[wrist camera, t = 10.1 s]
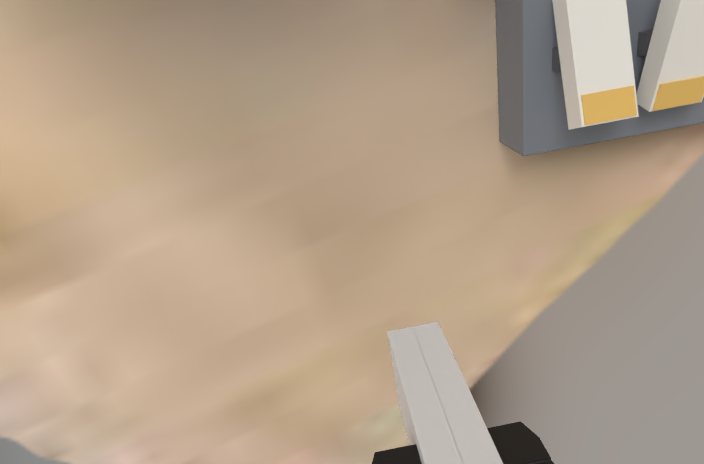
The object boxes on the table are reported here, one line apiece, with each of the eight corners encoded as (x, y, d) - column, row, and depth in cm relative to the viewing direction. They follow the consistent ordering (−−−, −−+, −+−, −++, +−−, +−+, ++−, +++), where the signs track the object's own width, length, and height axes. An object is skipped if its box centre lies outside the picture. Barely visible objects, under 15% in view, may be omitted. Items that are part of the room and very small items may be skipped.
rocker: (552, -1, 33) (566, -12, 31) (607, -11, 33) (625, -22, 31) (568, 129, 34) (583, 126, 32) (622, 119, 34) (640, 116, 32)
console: (494, -37, 37) (528, -46, 31) (748, -82, 37) (825, -98, 32) (499, 141, 42) (529, 159, 37) (718, 100, 43) (779, 112, 38)
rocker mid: (668, -29, 31) (689, -23, 29) (727, -40, 31) (751, -34, 29) (634, 101, 36) (650, 112, 35) (684, 92, 37) (703, 102, 35)
